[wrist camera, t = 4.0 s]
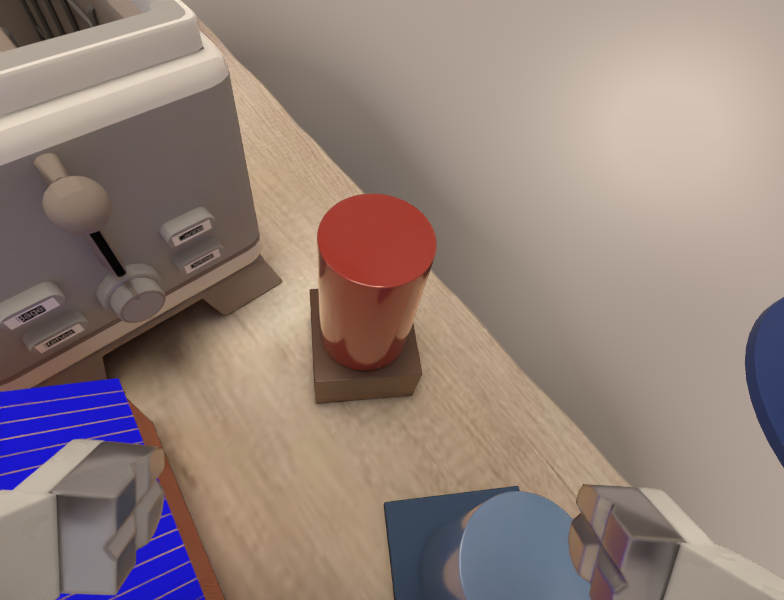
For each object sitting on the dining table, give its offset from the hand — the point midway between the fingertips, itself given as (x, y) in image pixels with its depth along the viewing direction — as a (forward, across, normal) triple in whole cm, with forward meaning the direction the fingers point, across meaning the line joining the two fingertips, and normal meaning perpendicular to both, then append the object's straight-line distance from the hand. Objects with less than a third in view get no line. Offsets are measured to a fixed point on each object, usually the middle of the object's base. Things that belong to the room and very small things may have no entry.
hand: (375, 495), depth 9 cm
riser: (+26, 0, +6) cm, 26 cm away
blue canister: (+15, -8, +16) cm, 23 cm away
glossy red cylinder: (+23, 0, +4) cm, 23 cm away
